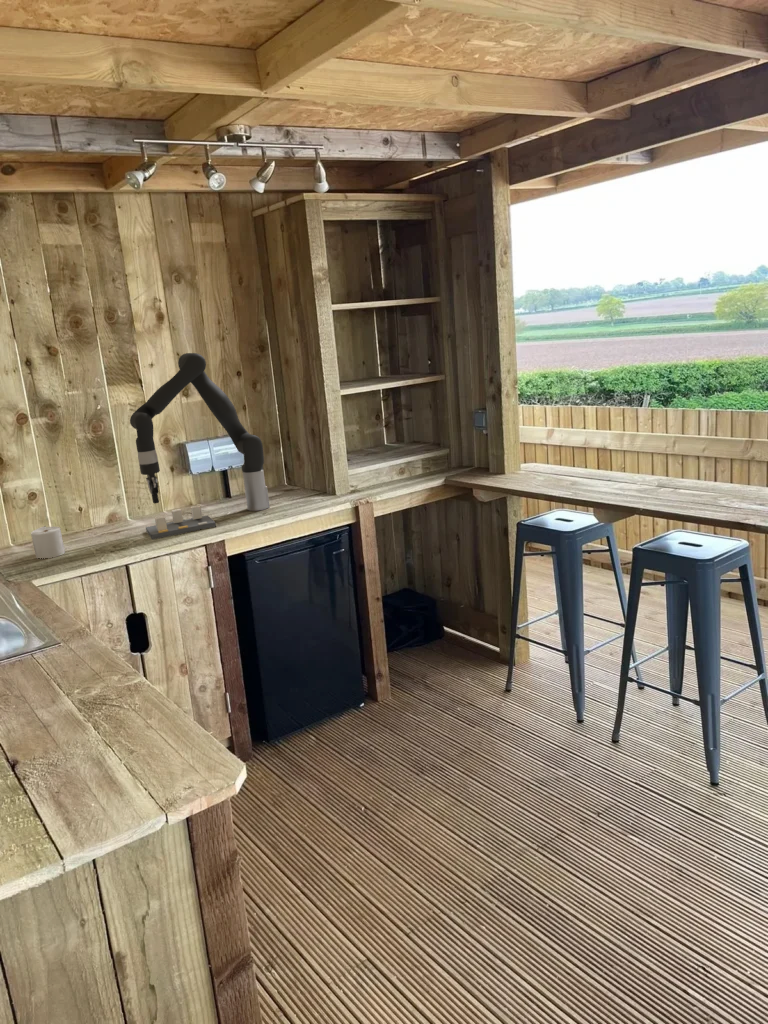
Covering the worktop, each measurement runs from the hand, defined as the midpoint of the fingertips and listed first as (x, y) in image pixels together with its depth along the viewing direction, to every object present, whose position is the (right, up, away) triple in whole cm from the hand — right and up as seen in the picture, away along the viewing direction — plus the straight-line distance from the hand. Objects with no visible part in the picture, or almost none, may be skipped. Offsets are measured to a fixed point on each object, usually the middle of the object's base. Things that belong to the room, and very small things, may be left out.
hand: (156, 502), depth 319 cm
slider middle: (+7, -8, +7) cm, 13 cm away
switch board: (+9, -11, +4) cm, 15 cm away
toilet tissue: (-37, -21, -15) cm, 45 cm away
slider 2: (+15, -6, +10) cm, 19 cm away
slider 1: (+3, -11, -2) cm, 11 cm away
